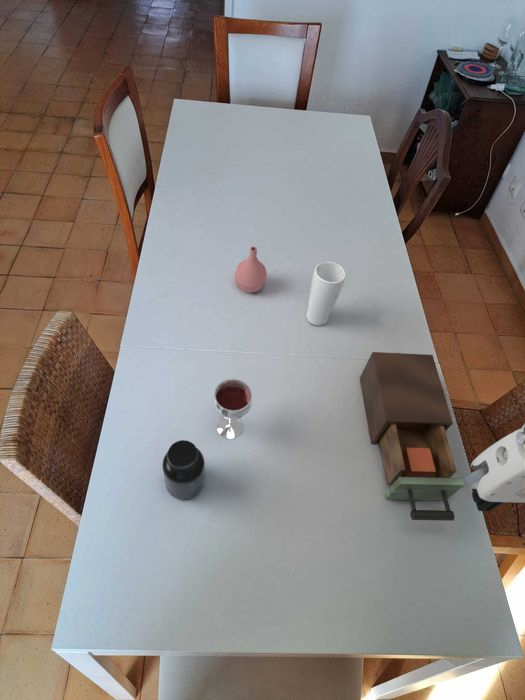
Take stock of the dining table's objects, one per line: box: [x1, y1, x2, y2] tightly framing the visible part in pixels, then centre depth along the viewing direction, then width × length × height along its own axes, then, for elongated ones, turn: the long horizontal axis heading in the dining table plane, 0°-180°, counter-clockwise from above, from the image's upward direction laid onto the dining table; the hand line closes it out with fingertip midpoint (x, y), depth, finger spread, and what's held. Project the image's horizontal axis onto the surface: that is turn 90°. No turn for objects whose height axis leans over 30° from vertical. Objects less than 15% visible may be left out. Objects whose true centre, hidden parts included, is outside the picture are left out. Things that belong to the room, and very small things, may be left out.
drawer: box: [379, 423, 466, 522], centre depth 82 cm, size 20×11×8 cm, turn 1°
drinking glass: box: [305, 261, 347, 327], centre depth 102 cm, size 7×7×15 cm
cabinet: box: [359, 351, 454, 445], centre depth 91 cm, size 16×13×10 cm
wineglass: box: [213, 378, 253, 440], centre depth 84 cm, size 7×7×12 cm
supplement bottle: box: [162, 439, 206, 501], centre depth 76 cm, size 7×7×12 cm
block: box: [402, 448, 436, 478], centre depth 83 cm, size 4×4×4 cm
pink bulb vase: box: [234, 246, 268, 293], centre depth 107 cm, size 8×8×12 cm
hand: (480, 500), depth 63 cm, fingers closed
